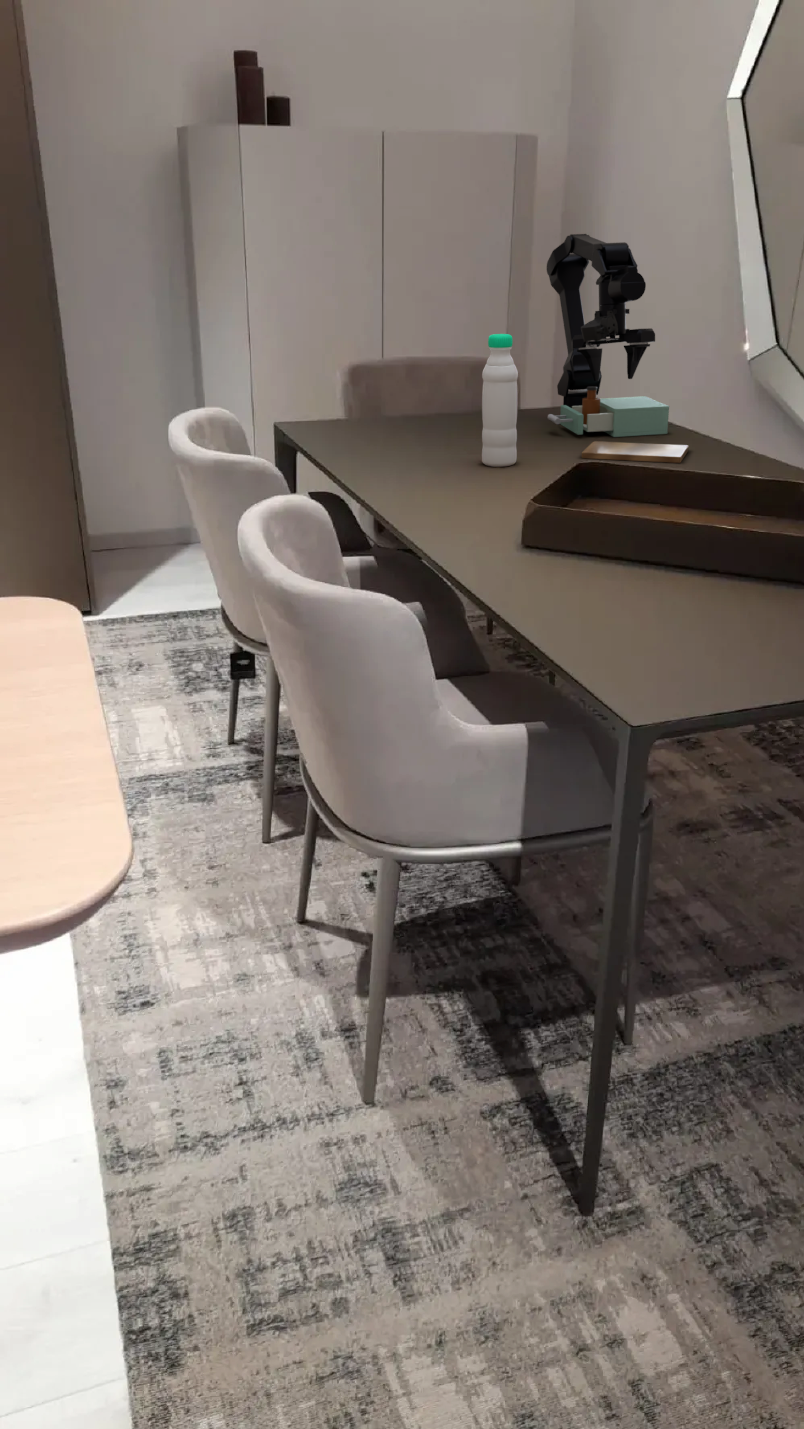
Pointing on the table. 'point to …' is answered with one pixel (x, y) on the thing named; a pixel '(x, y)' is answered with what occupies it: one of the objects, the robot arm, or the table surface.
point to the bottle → (590, 403)
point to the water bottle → (499, 404)
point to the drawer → (574, 419)
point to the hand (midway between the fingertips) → (613, 380)
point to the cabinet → (637, 416)
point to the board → (635, 452)
